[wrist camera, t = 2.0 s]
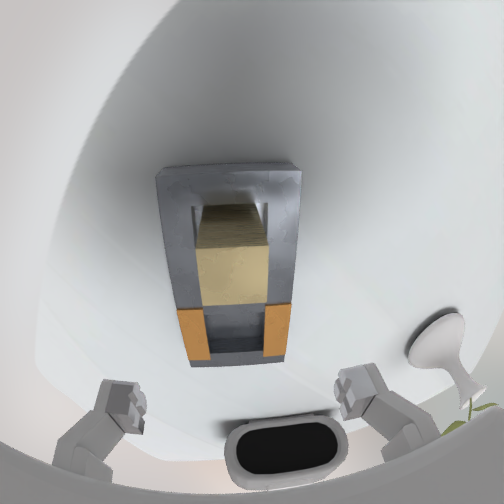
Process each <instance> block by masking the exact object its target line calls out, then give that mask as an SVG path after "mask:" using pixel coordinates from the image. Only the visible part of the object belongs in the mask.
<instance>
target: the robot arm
mask: <svg viewBox="0 0 504 504" xmlns="http://www.w3.org/2000/svg"><path fill="white" fill-rule="evenodd" d="M338 376H339V378H338V379H337V380H336V381H335V384H334V394H335V398H336V400H337V401H338V402H339V403H341V406H340V408H339V409H340V412H341V415H342V418H343V421H346V420H350V419H355V418H359V417H361V418H362V419H363V420H365V421H366V422H367V423H368V424H369V425H370V426H372V427H373V428H374V429H375V430H376V431H378V432H379V433H380V434H381V435H382V436H384V437H385V438H386V439H387V440H388V441H389V442H388V443H387V444H386V445H385V446H384V447H383V448H382V450H381V452H382V456H383V458H384V461H385V463H383V464H380V465H377V466H374V467H372V468H369V469H366V470H363V471H359V472H356V473H353V474H350V475H346V476H343V477H339V478H335V479H331V480H327V481H323V482H318V483H314V484H309V485H304V486H298V487H292V488H286V489H279V490H271V491H263V492H252V493H236V494H191V493H175V492H174V493H173V492H164V491H155V490H148V489H141V488H135V487H129V486H124V485H119V484H114V483H112V474H113V470H112V469H111V468H110V467H109V466H108V465H106V464H105V463H104V462H103V461H104V459H105V458H106V457H107V456H108V454H109V453H110V452H111V451H112V449H113V448H114V447H115V446H116V444H117V443H118V442H119V441H120V440H121V438H122V437H123V436H124V435H125V433H130V434H141V435H143V431H144V424H145V421H144V420H143V418H142V416H143V415H144V414H145V413H146V409H147V402H146V397H145V395H144V393H143V392H142V391H140V385H139V384H138V382H127V381H116V380H108V379H104V380H103V381H102V382H101V385H100V389H99V392H98V396H97V399H96V403H95V406H94V410H93V411H92V410H90V411H89V412H88V413H87V414H86V415H85V416H84V417H83V418H82V419H80V420H79V421H78V422H77V423H76V424H75V425H74V426H73V427H72V428H70V429H69V430H68V431H67V432H66V433H65V434H64V435H63V436H62V437H61V438H59V440H58V442H57V446H56V450H55V454H54V458H53V462H52V465H50V464H48V463H45V462H43V461H40V460H38V459H36V458H33V457H31V456H29V455H26V454H24V453H22V452H20V451H18V450H16V449H14V448H11V447H10V446H8V445H6V444H4V443H2V442H0V504H504V409H502V408H500V407H497V406H491V407H489V408H487V409H486V410H484V411H483V412H482V413H480V414H479V415H477V416H476V417H474V418H473V419H471V420H469V421H468V422H466V423H465V424H463V425H461V426H460V427H458V428H456V429H455V430H453V431H451V432H449V433H448V434H446V435H444V436H442V437H441V435H440V432H439V430H438V428H437V427H436V424H435V422H434V421H433V418H432V417H431V415H430V414H429V413H427V412H426V411H424V410H422V409H421V408H419V407H418V406H416V405H414V404H413V403H411V402H409V401H408V400H406V399H405V398H403V397H401V396H400V395H398V394H397V393H395V392H394V391H389V390H388V388H387V386H386V384H385V382H384V380H383V378H382V376H381V374H380V372H379V370H378V368H377V366H376V364H374V363H368V364H364V365H359V366H354V367H350V368H345V369H341V370H340V371H339V373H338Z"/></svg>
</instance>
